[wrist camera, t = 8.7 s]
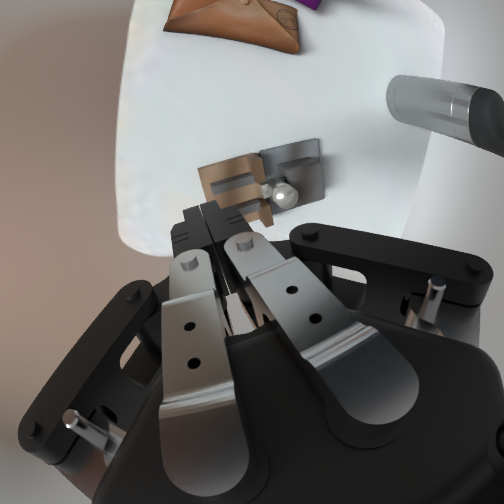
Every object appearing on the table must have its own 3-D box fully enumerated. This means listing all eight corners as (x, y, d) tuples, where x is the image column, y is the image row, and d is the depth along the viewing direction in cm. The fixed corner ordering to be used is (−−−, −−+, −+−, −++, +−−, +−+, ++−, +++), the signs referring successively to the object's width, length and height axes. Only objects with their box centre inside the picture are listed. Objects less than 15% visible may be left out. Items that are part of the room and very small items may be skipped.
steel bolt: (306, 165, 41) (327, 176, 36) (308, 183, 42) (328, 196, 38) (256, 178, 39) (271, 191, 35) (260, 197, 41) (275, 213, 36)
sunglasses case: (301, 7, 28) (318, 18, 25) (285, 44, 34) (298, 60, 31) (175, -19, 22) (172, -14, 19) (164, 24, 28) (160, 36, 25)
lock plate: (314, 138, 40) (332, 144, 36) (320, 196, 46) (336, 208, 42) (197, 168, 37) (202, 178, 33) (215, 230, 43) (222, 246, 39)
